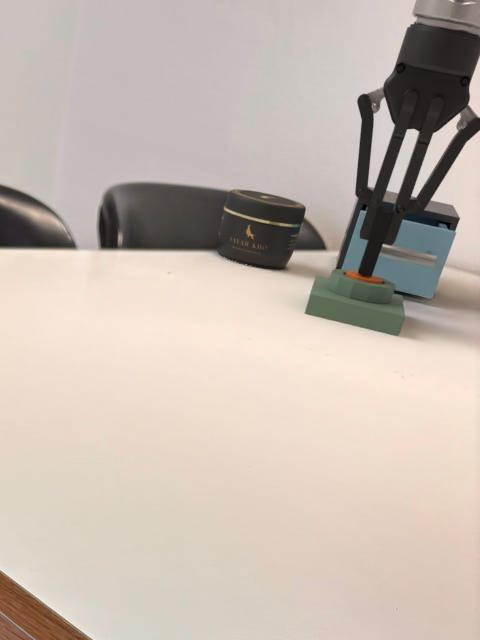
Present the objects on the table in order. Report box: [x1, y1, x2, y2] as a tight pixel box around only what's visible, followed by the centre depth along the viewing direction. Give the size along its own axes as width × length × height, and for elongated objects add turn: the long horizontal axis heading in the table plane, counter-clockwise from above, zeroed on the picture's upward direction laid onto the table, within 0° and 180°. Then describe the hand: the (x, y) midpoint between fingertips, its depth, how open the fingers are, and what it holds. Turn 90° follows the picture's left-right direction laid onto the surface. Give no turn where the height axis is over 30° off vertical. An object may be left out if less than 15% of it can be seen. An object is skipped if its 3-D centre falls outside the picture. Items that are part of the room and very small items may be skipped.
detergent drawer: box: [342, 204, 457, 300], centre depth 133 cm, size 20×11×8 cm, turn 162°
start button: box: [346, 270, 383, 284], centre depth 117 cm, size 4×4×2 cm
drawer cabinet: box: [334, 186, 461, 269], centre depth 143 cm, size 15×13×10 cm
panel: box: [304, 268, 406, 337], centre depth 118 cm, size 12×10×4 cm
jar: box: [216, 188, 307, 270], centre depth 135 cm, size 10×10×8 cm
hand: (364, 272), depth 117 cm, fingers closed
